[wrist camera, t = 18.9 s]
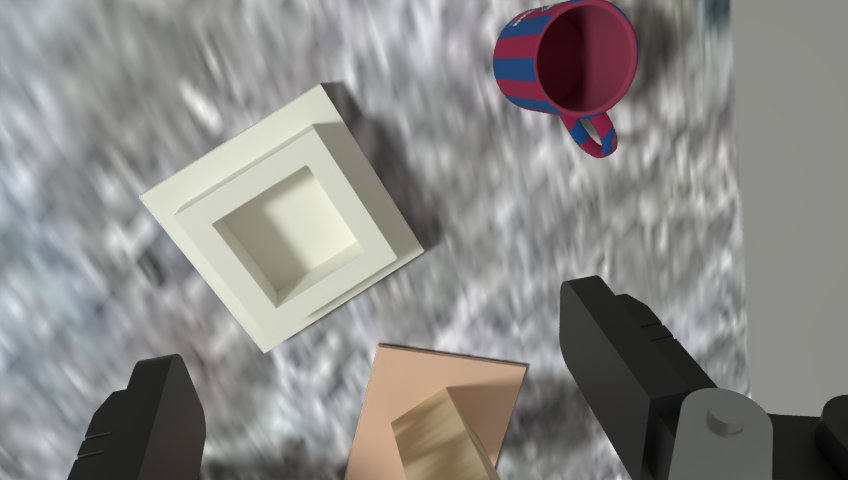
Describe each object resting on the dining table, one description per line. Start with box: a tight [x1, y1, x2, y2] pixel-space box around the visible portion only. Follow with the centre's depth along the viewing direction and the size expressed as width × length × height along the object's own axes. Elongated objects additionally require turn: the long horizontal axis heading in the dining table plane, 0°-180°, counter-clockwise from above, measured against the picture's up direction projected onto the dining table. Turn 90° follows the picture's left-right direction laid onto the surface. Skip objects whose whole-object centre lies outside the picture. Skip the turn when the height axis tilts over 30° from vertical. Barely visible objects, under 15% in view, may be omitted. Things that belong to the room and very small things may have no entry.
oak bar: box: [391, 387, 500, 480], centre depth 41 cm, size 5×5×12 cm
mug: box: [493, 0, 638, 158], centre depth 38 cm, size 7×10×7 cm
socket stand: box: [139, 84, 424, 353], centre depth 38 cm, size 13×13×4 cm
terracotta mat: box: [344, 344, 526, 480], centre depth 46 cm, size 12×12×1 cm
